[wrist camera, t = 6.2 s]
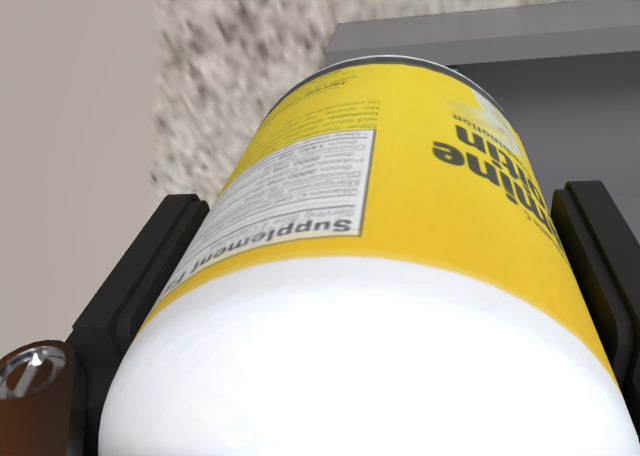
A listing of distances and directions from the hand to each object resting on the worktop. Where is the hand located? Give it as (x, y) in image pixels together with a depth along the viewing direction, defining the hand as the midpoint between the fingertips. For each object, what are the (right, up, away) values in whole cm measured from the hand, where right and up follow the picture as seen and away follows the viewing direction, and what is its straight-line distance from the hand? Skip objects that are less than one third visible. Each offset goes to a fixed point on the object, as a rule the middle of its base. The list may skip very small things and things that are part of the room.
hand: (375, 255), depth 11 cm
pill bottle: (0, +2, +3) cm, 3 cm away
